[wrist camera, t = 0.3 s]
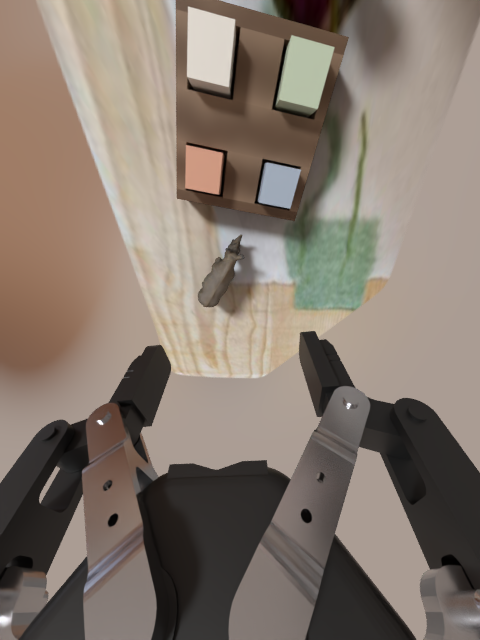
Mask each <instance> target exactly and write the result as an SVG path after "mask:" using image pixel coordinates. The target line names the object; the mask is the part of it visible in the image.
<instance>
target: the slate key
mask: <svg viewBox="0 0 480 640" xmlns="http://www.w3.org/2000/svg"><path fill="white" fill-rule="evenodd" d="M300 172H301V170H300V169H295V168H290V167H286V166H281V165H276V164H272V163H265V164H264V165H263V170H262V176H261V181H260V186H259V191H258V197H257V200H258V202H259V203H263V204H268V205H274V206H279V207H284V208H289V209H290V208H291V204H292V201H293V197H294V193H295V190H296V186H297V183H298V179H299V175H300Z"/></svg>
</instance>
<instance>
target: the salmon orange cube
mask: <svg viewBox="0 0 480 640" xmlns="http://www.w3.org/2000/svg"><path fill="white" fill-rule="evenodd" d="M224 160H225V155H224V154H223V153H221V152H216V151H212V150H207V149H202V148H198V147H193V146H188V145H186V174H185V188H187V189H192V190H197V191H202V192H207V193H213V194H218V195H219V194H220V193H221V190H222V180H223V170H224Z"/></svg>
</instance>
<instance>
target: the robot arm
mask: <svg viewBox="0 0 480 640" xmlns="http://www.w3.org/2000/svg"><path fill="white" fill-rule="evenodd" d="M299 356H300V363H301V366H302V369H303V372H304V376H305V379H306V382H307V385H308V389H309V392H310V395H311V399H312V402H313V405H314V408H315V411H316V415H317V417H322V418H321V421H320V423H319V425H318V427H317V429H316V430H314V432H313V433H312V435H311V437H310V439H309V442H308V444H307V446H306V448H305V450H304V452H303V455H302V457H301V459H300V461H299V463H298V465H297V467H296V469H295V472H294V474H293V476H292V478H291V479H290V478H288V477H287V476H286V475H284V474H283V473H281V472H279V471H277V470H275V469H272V468H269V467H267V460H262V461H242V462H239V463H236V464H233V465H230V466H228V467H225V468H222V469H219V470H214V469H210V468H207V467H203V466H200V465H196V464H172V465H170V466H169V470H168V473H166V474H164V475H162V476H160V477H158V475H157V473H156V472H155V470H154V468H153V466H152V463H151V460H150V457H149V454H148V451H147V448H146V445H145V442H144V439H143V436H142V434H141V430H142V428H143V427H146V426H152V423H153V420H154V417H155V415H156V412H157V409H158V406H159V404H160V401H161V398H162V395H163V392H164V389H165V386H166V384H167V381H168V378H169V375H170V372H171V364H170V361H169V359H168V357H167V355H166V353H165V351H164V349H163V347H162V346H161V345H156V346H147V347H146V348H145V350H144V352H143V354H142V355H141V356H138V357H137V358H136V359H135V360H134V361H133V362H132V363H131V365H130V366H129V368H128V370H127V372H126V374H125V375H124V378H123V379H122V380H121V382H120V384H119V386H118V388H117V389H116V391H115V393H114V394H113V396H112V398H111V400H110V401H109V403H107V404H104V405H102V406H100V407H99V408H97V409H96V410H95V411H94V412H93V413H92V414H91V415H90V416H89V418H88V419H86V420H83V421H80V422H77V423H74V424H72V425H70V424H69V423H68V422H66V421H65V420H57V421H54V422H52V423H50V424H48V425H46V426H45V427H44V428H42V429H41V430H40V431H39V432H38V433H37V434H36V435H35V437H34V438H33V440H32V441H31V442H30V444H29V445H28V446H27V448H26V449H25V450H24V452H23V453H22V454H21V456H20V457H19V458H18V460H17V461H16V463H15V464H14V465H13V467H12V468H11V469H10V471H9V472H8V473H7V475H6V476H5V478H4V479H3V480H2V482H1V483H0V640H416V638H415V636H414V635H413V634H412V632H411V631H410V629H409V628H408V627H407V625H406V624H405V622H404V621H403V620H402V619H401V618H400V616H399V615H398V613H397V612H396V611H395V610H394V609H393V607H392V606H391V605H390V603H389V602H388V601H387V600H386V598H385V597H384V596H383V594H382V593H381V592H380V591H379V589H378V588H377V587H376V585H375V584H374V583H373V582H372V581H371V579H370V578H369V577H368V575H367V574H366V573H365V572H364V570H363V569H362V568H361V566H360V565H359V564H358V563H357V561H356V560H355V559H354V558H353V556H352V555H351V554H350V552H349V551H348V550H347V549H346V547H345V546H344V545H343V544H342V542H341V541H340V540H339V538H338V537H337V536H336V535H335V531H336V527H337V524H338V520H339V517H340V514H341V510H342V507H343V503H344V500H345V496H346V493H347V490H348V486H349V483H350V479H351V475H352V472H353V469H354V466H355V462H356V458H357V451H358V447H362V448H366V449H369V450H373V451H377V452H380V454H381V456H382V459H383V461H384V463H385V466H386V468H387V470H388V472H389V475H390V477H391V479H392V482H393V484H394V487H395V489H396V491H397V493H398V496H399V498H400V500H401V503H402V505H403V507H404V510H405V512H406V514H407V517H408V519H409V521H410V524H411V526H412V528H413V531H414V533H415V535H416V538H417V540H418V542H419V545H420V547H421V549H422V552H423V554H424V556H425V558H426V561H427V563H428V565H429V568H430V570H428V571H426V572H425V573H424V574H423V575H422V578H421V582H420V593H421V598H422V602H423V605H424V609H425V613H426V619H427V629H426V635H425V638H424V639H423V640H480V473H479V471H478V470H477V468H476V467H475V466H474V464H473V463H472V462H471V460H470V459H469V458H468V456H467V455H466V453H465V452H464V451H463V449H462V448H461V447H460V445H459V444H458V442H457V441H456V440H455V438H454V437H453V436H452V435H451V433H450V432H449V430H448V429H447V427H446V426H445V425H444V423H443V422H442V421H441V419H440V418H439V416H438V415H437V414H436V413H435V412H434V410H433V409H431V408H430V407H429V406H427V405H426V404H424V403H422V402H420V401H418V400H414V399H410V398H402V399H399V400H397V401H396V403H395V404H391V403H386V402H381V401H377V400H373V399H370V398H368V397H367V396H366V395H365V394H364V393H363V392H361V391H360V390H358V389H356V388H355V386H354V385H353V383H352V381H351V379H350V377H349V375H348V374H347V371H346V369H345V367H344V365H343V364H342V362H341V361H340V358H339V356H338V355H337V352H336V350H335V349H334V347H333V345H332V344H330V343H329V342H328V341H327V340H326V339H325V340H319V339H318V336H317V334H316V332H315V331H309V332H301V333H300V345H299ZM56 466H57V467H59V468H60V470H59V472H58V474H57V475H56V477H55V479H54V481H53V482H52V484H51V486H50V488H49V489H48V491H47V493H46V495H45V496H44V498H43V500H42V502H41V504H40V503H39V496H40V493H41V491H42V489H43V487H44V486H45V484H46V482H47V480H48V479H49V477H50V475H51V474H52V472H53V470H54V468H55V467H56ZM82 495H83V499H84V513H85V514H84V515H85V529H86V543H87V557H86V558H85V559H84V560H83V562H82V563H81V564H80V565H79V566H78V568H77V569H76V570H75V571H74V572H73V573H72V575H71V576H70V577H69V578H68V579H67V580H66V582H65V583H64V584H63V585H62V586H61V588H60V589H59V590H58V591H57V592H56V593H55V595H54V596H53V597H52V598H51V599H50V601H49V602H48V603H47V601H48V592H47V591H46V584H47V579H46V575H47V572H48V570H49V568H50V566H51V563H52V561H53V559H54V557H55V554H56V552H57V550H58V548H59V546H60V543H61V541H62V539H63V537H64V535H65V532H66V530H67V528H68V526H69V523H70V521H71V519H72V517H73V515H74V512H75V510H76V508H77V506H78V503H79V501H80V499H81V497H82ZM46 603H47V604H46Z"/></svg>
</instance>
